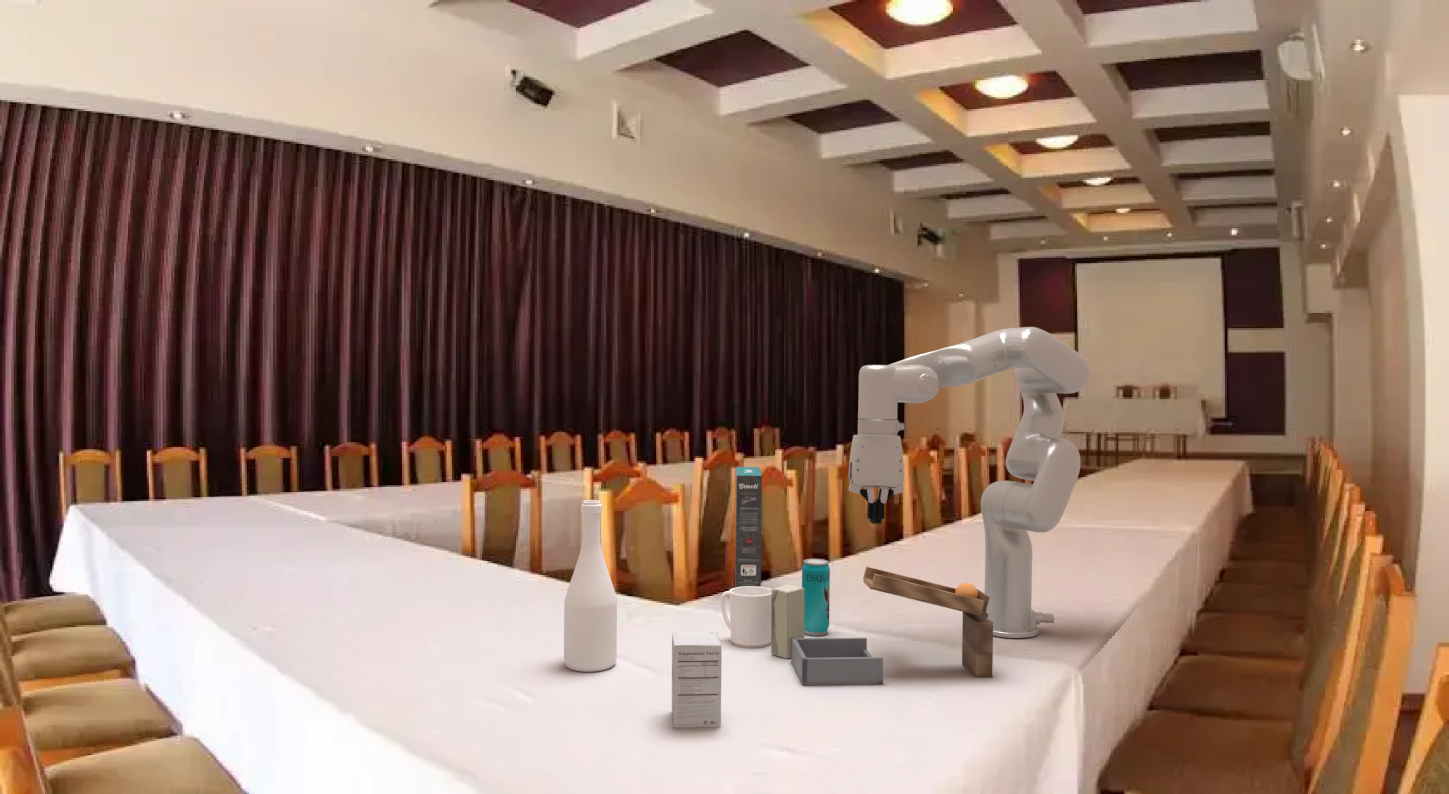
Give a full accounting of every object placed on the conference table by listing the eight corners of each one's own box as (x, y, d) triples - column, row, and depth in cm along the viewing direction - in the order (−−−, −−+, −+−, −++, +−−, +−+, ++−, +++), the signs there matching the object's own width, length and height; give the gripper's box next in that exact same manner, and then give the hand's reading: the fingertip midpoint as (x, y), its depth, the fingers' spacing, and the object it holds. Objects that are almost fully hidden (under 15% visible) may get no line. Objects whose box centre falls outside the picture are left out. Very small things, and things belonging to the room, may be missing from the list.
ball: (969, 605, 169) (976, 584, 169) (977, 610, 165) (984, 589, 165) (949, 598, 169) (956, 577, 169) (956, 603, 165) (963, 582, 165)
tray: (865, 661, 172) (865, 637, 172) (882, 684, 159) (883, 658, 159) (791, 662, 171) (791, 638, 171) (802, 685, 158) (802, 659, 158)
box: (787, 649, 180) (788, 583, 180) (805, 654, 177) (806, 587, 176) (769, 655, 176) (770, 587, 176) (786, 660, 173) (787, 591, 173)
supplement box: (670, 711, 145) (671, 631, 145) (717, 710, 146) (718, 630, 146) (672, 729, 138) (673, 644, 138) (721, 728, 139) (722, 644, 138)
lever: (958, 599, 179) (963, 579, 179) (987, 619, 164) (993, 597, 164) (852, 572, 178) (857, 552, 178) (871, 591, 162) (876, 569, 162)
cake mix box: (760, 602, 218) (762, 475, 218) (735, 602, 219) (736, 475, 218) (758, 582, 240) (759, 467, 240) (735, 582, 240) (736, 467, 240)
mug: (778, 639, 187) (779, 588, 187) (766, 651, 179) (766, 597, 179) (727, 633, 191) (727, 584, 191) (712, 645, 182) (713, 593, 182)
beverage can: (827, 637, 188) (828, 564, 188) (799, 635, 190) (800, 563, 189) (830, 630, 194) (831, 559, 194) (803, 628, 195) (803, 557, 195)
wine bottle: (573, 676, 162) (574, 505, 162) (557, 661, 171) (558, 499, 170) (624, 669, 166) (625, 503, 166) (605, 655, 175) (607, 496, 174)
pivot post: (976, 663, 172) (977, 596, 172) (992, 677, 164) (993, 607, 164) (960, 663, 172) (961, 596, 172) (975, 677, 164) (976, 607, 163)
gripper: (910, 428, 183) (908, 520, 184) (835, 427, 183) (833, 519, 183) (920, 430, 176) (918, 526, 176) (842, 428, 175) (841, 525, 175)
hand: (875, 522), depth 179 cm, fingers closed
